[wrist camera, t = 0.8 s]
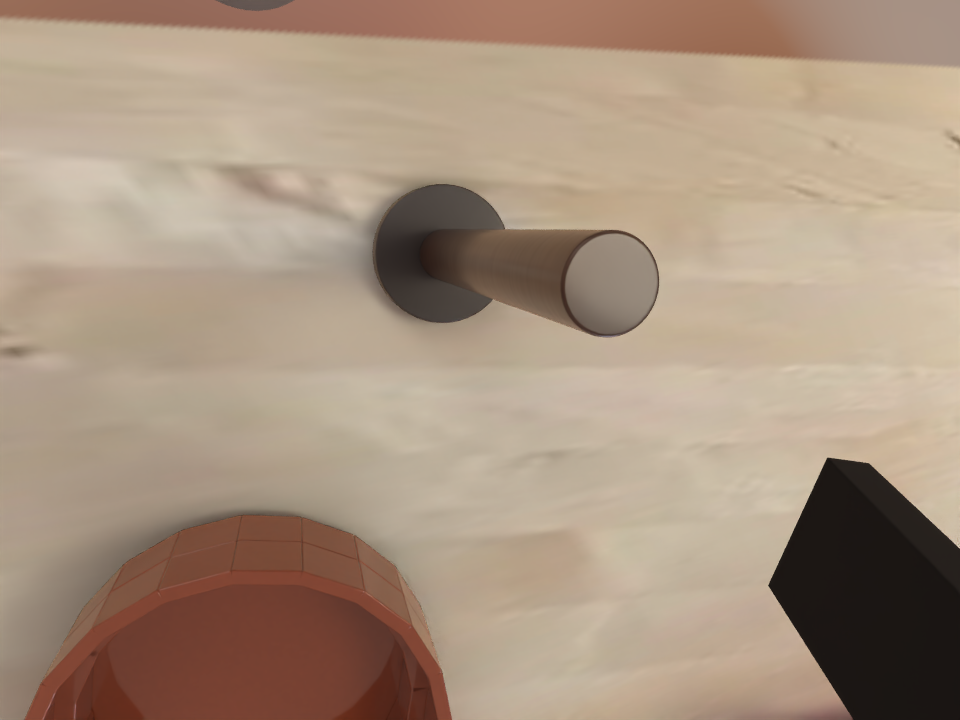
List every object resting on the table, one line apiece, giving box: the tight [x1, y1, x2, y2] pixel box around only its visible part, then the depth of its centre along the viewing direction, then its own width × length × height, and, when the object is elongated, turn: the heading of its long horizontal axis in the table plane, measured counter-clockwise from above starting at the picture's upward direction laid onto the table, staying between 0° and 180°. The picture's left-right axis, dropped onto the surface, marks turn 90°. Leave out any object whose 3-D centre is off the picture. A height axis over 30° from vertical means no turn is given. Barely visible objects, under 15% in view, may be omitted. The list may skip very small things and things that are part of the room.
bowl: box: [24, 515, 452, 720], centre depth 30 cm, size 16×16×6 cm
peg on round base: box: [373, 184, 659, 337], centre depth 23 cm, size 6×6×18 cm
